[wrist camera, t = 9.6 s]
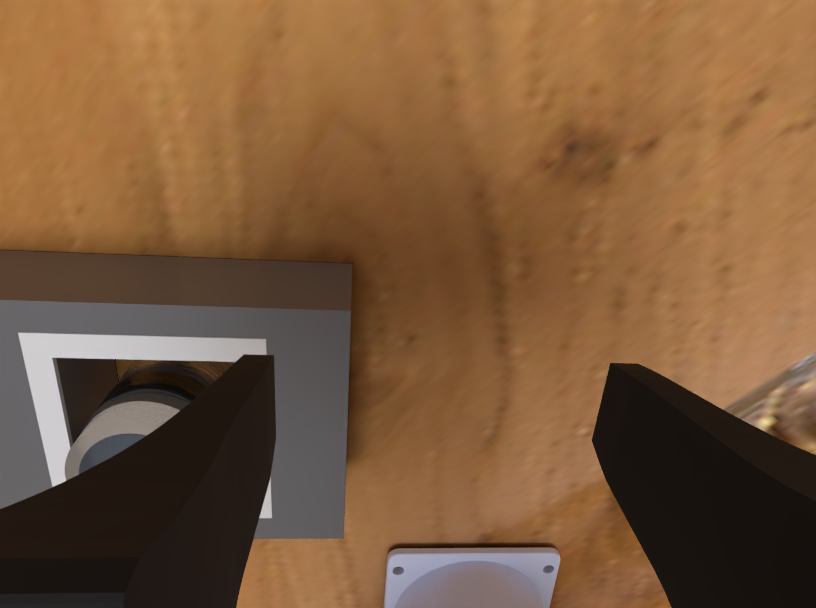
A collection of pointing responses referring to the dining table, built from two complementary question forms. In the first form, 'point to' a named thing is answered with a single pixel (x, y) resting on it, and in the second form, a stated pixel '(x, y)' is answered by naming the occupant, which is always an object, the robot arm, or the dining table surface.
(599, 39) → the dining table surface
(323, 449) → the grey hollow block
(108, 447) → the lens
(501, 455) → the dining table surface
